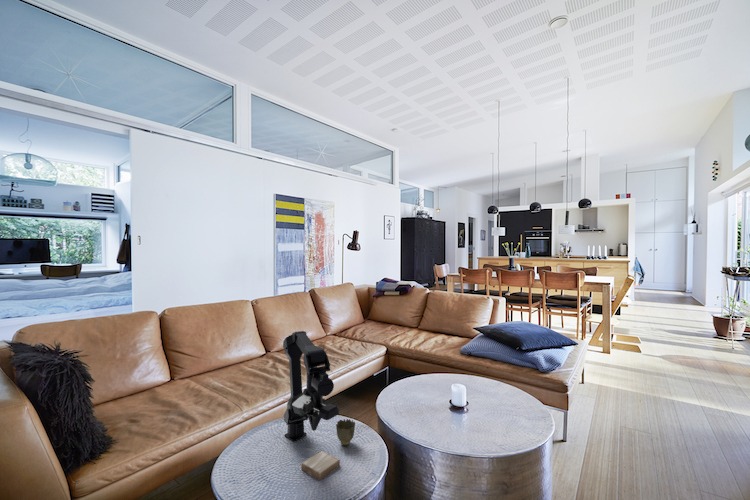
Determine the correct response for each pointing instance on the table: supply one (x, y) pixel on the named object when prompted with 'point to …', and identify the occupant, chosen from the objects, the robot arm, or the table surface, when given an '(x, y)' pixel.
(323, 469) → the wooden block
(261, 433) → the table surface
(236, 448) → the table surface
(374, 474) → the table surface
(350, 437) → the cup
